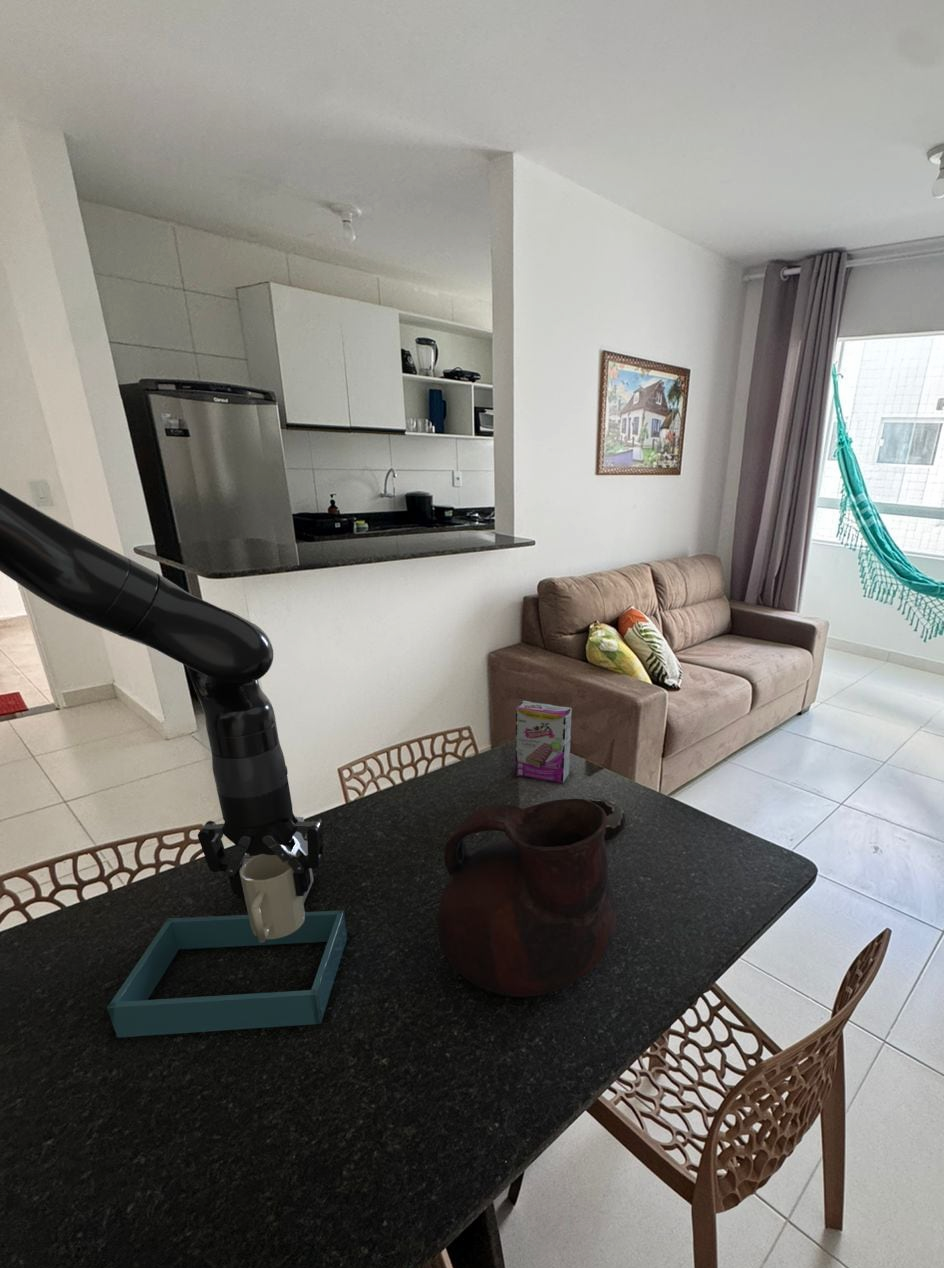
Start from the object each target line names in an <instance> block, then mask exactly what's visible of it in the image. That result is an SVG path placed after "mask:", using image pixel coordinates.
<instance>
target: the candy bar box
mask: <svg viewBox="0 0 944 1268" xmlns="http://www.w3.org/2000/svg"><path fill="white" fill-rule="evenodd" d="M572 712H573V709H572V707H570V706H569V707H568V706H563V705H562V706H561V705H555V704H549V703H541V702H535V701H529V700H522V701H521V702H520V704H519V705H517V706H516V707H515V776H516V777H522V778H528V779H533V780H540V781H545V782H552V783H556V784H557V783H558V784H564V783H565V781H566V779H567V778H568V776H569V774H570V759H571V737H572V736H571V735H572V734H571V733H572Z"/></svg>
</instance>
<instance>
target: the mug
mask: <svg viewBox="0 0 944 1268" xmlns="http://www.w3.org/2000/svg"><path fill="white" fill-rule="evenodd" d="M239 871H240V878H241V883H242V887H243V892H244V897H245V898H244V902H245V906H246V910H247V915H248V916H249V921H250V925H251V929H252V932H253V934H254V935H255V936H257V939H258V942H260V943H263V942H265V940H266V939H277V938H281V937H284V936H287V935H289V934H291V933H293V932H295V931H296V930H297V929H298V928H300V927H301V925H302V924H303V922H304V920H305V912H306V910H305V903H304V904H303V898H302V896H297V894H296V888H295V883H294V877H293V873H294V870H293V869H292V868H291V867H290V866H289V864H288V863H284V862H282V860H281V859H280V858H279V857H278V856H277V855H266V854H261V855H257V856H254V857H252V858H250V859H249V860H247V861H246V862H245V863H244V864H243V863H242V866H241V868H240V870H239Z"/></svg>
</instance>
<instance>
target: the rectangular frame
mask: <svg viewBox="0 0 944 1268" xmlns="http://www.w3.org/2000/svg"><path fill="white" fill-rule="evenodd" d="M347 930H348V929H347V923H346V915H345V910H343V909H341V910H325V911H321V910H320V911H305V920H304V922H303V924H302V925H301V927H300V928H298V929H297V930H296V931H295V932H293V933H291V934H289V935H287V936H284V937H281V938H277V939H266V940H265V942H263V943H260V942H258V939H257V936H255V935H254V934H253V932H252V929H251V925H250V921H249V916H248V914H236V915H214V916H194V917H190V916H189V917H168V918H167V919H166V921H164V924H163V925H162V926H161V927H160V929H159V931H158V932H157V934H156V935H155V936H154V938H153V939H152V941H151V942H150V944H149V945H148V946H147V948H146V950H145V951H144V952H143V954H142V955H141V957H140V959H139V960H138V961H137V963H136V964H135V966H134V967H133V969H132V970H131V971H130V973H129V975H128V976H127V978H126V979H125V980H124V982H123V983H122V985H121V986H120V988H119V989H118V991H116V994H115V995H114V997H113V998H112V1000H111V1001H110V1003H109V1004H108V1005H107V1007H106V1008H107V1011H108V1015H109V1018H110V1020H111V1024H112V1026H113V1029H114V1032H115V1034H116V1038H119V1039H120V1038H133V1037H134V1038H135V1037H147V1036H148V1037H149V1036H163V1035H177V1034H189V1033H190V1034H192V1033H206V1032H207V1033H208V1032H219V1031H221V1032H222V1031H237V1030H250V1029H265V1028H278V1027H279V1028H280V1027H281V1028H282V1027H293V1026H308V1025H321V1024H322V1022H323V1018H324V1015H325V1012H326V1008H327V1006H328V1002H329V999H330V995H331V992H332V989H333V985H334V982H335V979H336V976H337V973H338V970H339V966H340V963H341V960H342V957H343V953H344V950H345V948H346V943H347V941H348V931H347ZM309 943H310V944H311V943H313V944H314V943H326V945H325V948H324V950H323V951H324V952H323V954H322V957H321V960H320V963H319V965H318V969H317V972H316V975H315V978H314V981H313V984H312V986H311V989H304V990H303V989H302V990H291V991H289V990H288V991H271V992H256V993H242V994H241V993H240V994H225V995H209V996H208V995H207V996H206V995H205V996H193V997H192V996H190V997H175V998H159V999H150V997H151V995H152V993H153V992H154V991H155V989H156V987H157V985H158V984H159V982H160V980H161V979H162V978H163V976H164V974H165V972H166V971H167V970H168V968H169V966H170V965H171V963H172V961H173V960H174V958H175V956H176V955H177V953H178V952H179V950H195V949H196V950H197V949H215V948H231V947H232V948H233V947H253V946H272V945H273V946H274V945H291V944H292V945H293V944H309Z"/></svg>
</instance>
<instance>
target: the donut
mask: <svg viewBox="0 0 944 1268" xmlns="http://www.w3.org/2000/svg"><path fill="white" fill-rule="evenodd" d="M583 799H584V800H588V801H590V802H592V803H594V804H596V805H598V806H599V807H601V808H602V809H603V810H604V811H605V813H606V815H607V825H606V829H605V834H604V841H605V840H608V839H612V838H613V837H616V836H617V835H619V834H620V833H621V832H622V831H623V829H624V827H625V825H626V822H627V821H626V820H627V819H626V813H625V811H624V810H623V808H622V807H621V806H620V805H618V804H617V803H616V802H614V801H612V800H610V799H606V798H603V797H586V798H583Z"/></svg>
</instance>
